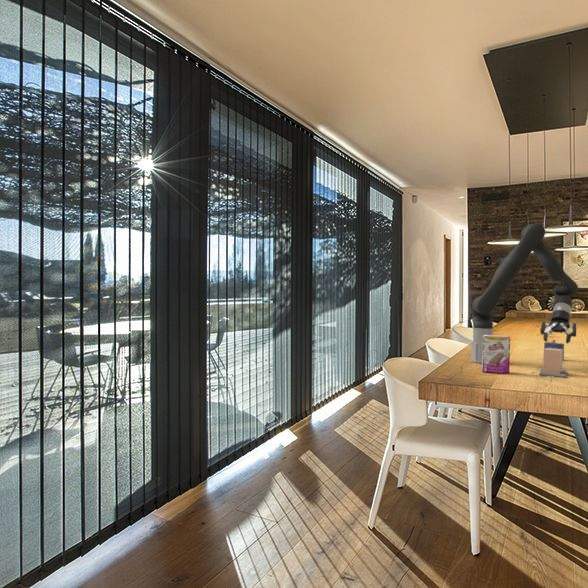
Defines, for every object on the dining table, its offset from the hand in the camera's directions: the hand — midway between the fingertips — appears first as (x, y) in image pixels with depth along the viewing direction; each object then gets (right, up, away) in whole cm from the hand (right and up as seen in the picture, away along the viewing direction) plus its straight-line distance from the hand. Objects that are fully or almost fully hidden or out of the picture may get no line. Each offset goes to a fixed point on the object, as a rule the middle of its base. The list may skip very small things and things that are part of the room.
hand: (556, 341), depth 215 cm
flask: (+17, -13, +34) cm, 40 cm away
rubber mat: (-4, -14, -5) cm, 15 cm away
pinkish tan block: (-4, -13, -5) cm, 15 cm away
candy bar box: (-28, -14, -2) cm, 32 cm away
